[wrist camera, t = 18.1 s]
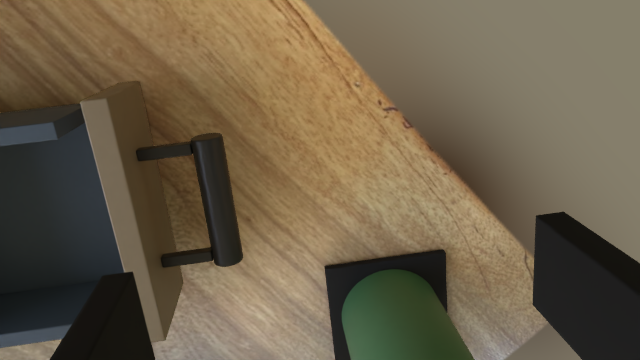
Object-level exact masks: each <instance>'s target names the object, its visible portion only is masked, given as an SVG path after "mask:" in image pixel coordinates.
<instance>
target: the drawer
mask: <svg viewBox="0 0 640 360" xmlns="http://www.w3.org/2000/svg"><path fill="white" fill-rule="evenodd" d="M192 154H193V156H194V161H195V167H196V172H197V177H198V182H199V187H200V192H201V198H202V203H203V208H204V213H205V218H206V223H207V229H208V234H209V239H210V244H211V247H210V248H202V249H195V250H188V251H180V252H177V251H176V246H175V241H174V237H173V232H172V228H171V223H170V219H169V214H168V209H167V205H166V200H165V196H164V191H163V187H162V182H161V177H160V173H159V168H158V164H157V159H164V158H172V157H180V156H188V155H192ZM242 259H243V252H242V246H241V240H240V235H239V229H238V223H237V217H236V211H235V205H234V200H233V194H232V188H231V182H230V176H229V170H228V165H227V159H226V153H225V147H224V141H223V136H222V134H220V133H206V134H201V135H197V136H195V137H193V138H191V141H189V142H181V143H173V144H165V145H157V146H154V145H153V141H152V136H151V132H150V127H149V123H148V118H147V113H146V109H145V104H144V100H143V95H142V91H141V86H140V82H139V81H131V82H122V83H117V84H115V85H113V86H111V87H109V88H107V89H105V90H103V91H100V92H98V93H96V94H94V95H92V96H90V97H88V98H86V99H84V100H82V101H80V104H71V105H63V106H54V107H46V108H37V109H29V110H21V111H12V112H4V113H0V348H4V347H10V346H17V345H24V344H31V343H38V342H45V341H52V340H59V339H63V338H64V336H65V335H66V333H67V331H68V330H69V328H70V327H71V325H72V323H73V322H74V320H75V319H76V317H77V315H78V314H79V312H80V311H81V309H82V307H83V306H84V304H85V303H86V301H87V299H88V298H89V296H90V295H91V293H92V291H93V290H94V288H95V287H96V285H97V283H98V282H99V280H100V279H101V277H102V276H104V275H111V274H118V273H125V272H133V274H134V278H135V281H136V285H137V289H138V293H139V297H140V301H141V305H142V309H143V313H144V317H145V321H146V325H147V329H148V333H149V337H150V341H151V342H158V341H164V340H166V337H167V334H168V331H169V327H170V324H171V321H172V318H173V315H174V311H175V308H176V305H177V302H178V299H179V295H180V292H181V289H182V286H183V278H182V273H181V269H180V265H187V264H194V263H201V262H209V261H213V260H214V263H215V264H216V265H217V266H221V267H226V266H232V265H235V264H237V263H239V262H240V261H241V260H242Z"/></svg>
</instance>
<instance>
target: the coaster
mask: <svg viewBox="0 0 640 360" xmlns="http://www.w3.org/2000/svg"><path fill="white" fill-rule="evenodd" d="M390 269H400V270H406V271H409V272H412V273H415V274H417V275H419V276H420V277H422V278H423V279H424V280H426V281H427V282H428V283H429V285H430V286H431V287H432V289H433V290H434V292H435V294H436V296H437V297H438V299H439V301H440V302H441V304H442V306H443V307H444V309H445V311H446V312H447V289H446V253H445V251H444V250H443V249H442V250H435V251H428V252H421V253H414V254H407V255H400V256H393V257H386V258H379V259H372V260H365V261H357V262H350V263H343V264H336V265H329V266H325V274H326V283H327V291H328V300H329V309H330V318H331V326H332V335H333V344H334V353H335V360H351V358H350V354H349V349H348V345H347V341H346V337H345V333H344V329H343V324H342V308H343V304H344V302H345V299H346V297H347V296H348V294H349V292H350V291H351V290H352V288H353V287H354V286H355V285H356V284H357V283H358V282H360V281H361V280H362V279H364V278H366V277H367V276H369V275H371V274H373V273H376V272H379V271H383V270H390Z"/></svg>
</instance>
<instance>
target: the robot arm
mask: <svg viewBox="0 0 640 360" xmlns="http://www.w3.org/2000/svg"><path fill="white" fill-rule="evenodd" d="M535 230H536V231H535V255H534V282H533V306H534V307H535V308H536V309H537V310H538V311H539V312H540V313H541V314H542V316H543V317H544V318H545V319H546V320H547V321H548V322H549V323H550V324H551V326H553V328H554V329H555V330H556V331H557V332H558V333H559V334H560V335H561V336H562V338H563V339H564V340H565V341H566V342H567V343H568V344H569V345H570V347H571V348H572V349H573V350H574V351H575V352H576V353H577V354H578V355H579V356H580V358H581V359H582V360H640V263H638V262H637V261H635V260H634V259H633V258H631V257H630V256H628V255H627V254H625V253H624V252H622V251H621V250H619V249H618V248H616V247H615V246H613V245H612V244H610V243H609V242H607V241H606V240H604V239H603V238H601V237H600V236H599V235H597V234H596V233H594V232H593V231H591V230H590V229H588V228H587V227H585V226H584V225H582V224H581V223H579V222H578V221H576V220H575V219H574V218H572V217H571V216H569V215H568V214H566V213H565V212H559V213H552V214H544V215H538V216H536V229H535ZM50 360H155V356H154V352H153V348H152V345H151V341H150V337H149V333H148V329H147V325H146V321H145V317H144V313H143V309H142V305H141V301H140V297H139V293H138V289H137V285H136V281H135V278H134V274H133V272H125V273H118V274H111V275H104V276H102V277H101V279H100V280H99V282H98V283H97V285H96V287H95V288H94V290H93V291H92V293H91V295H90V296H89V298H88V299H87V301H86V303H85V304H84V306H83V307H82V309H81V311H80V312H79V314H78V315H77V317H76V319H75V320H74V322H73V323H72V325H71V327H70V328H69V330H68V331H67V333H66V335H65V336H64V338H63V339H62V341H61V343H60V344H59V346H58V347H57V349H56V351H55V352H54V354H53V355H52V357H51V359H50Z"/></svg>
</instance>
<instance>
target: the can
mask: <svg viewBox="0 0 640 360" xmlns="http://www.w3.org/2000/svg"><path fill="white" fill-rule="evenodd" d="M342 324H343V329H344V333H345V337H346V341H347V345H348V349H349V354H350V358H351V360H475V359H474V358H473V356H472V354H471V353H470V351H469V349H468V348H467V346H466V344H465V343H464V341H463V339H462V338H461V336H460V334H459V333H458V331H457V329H456V327H455V326H454V324H453V322H452V321H451V319H450V317H449V316H448V314H447V312H446V311H445V309H444V307H443V306H442V304H441V302H440V301H439V299H438V297H437V296H436V294H435V292H434V290H433V289H432V287H431V286H430V285H429V283H428V282H427V281H426V280H424V279H423V278H422V277H420V276H419V275H417V274H415V273H412V272H409V271H406V270H400V269H390V270H383V271H379V272H376V273H373V274H371V275H369V276H367V277H366V278H364V279H362V280H361V281H360V282H358V283H357V284H356V285H355V286H354V287H353V288H352V290H351V291H350V292H349V294H348V296H347V297H346V299H345V302H344V304H343V308H342Z"/></svg>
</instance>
